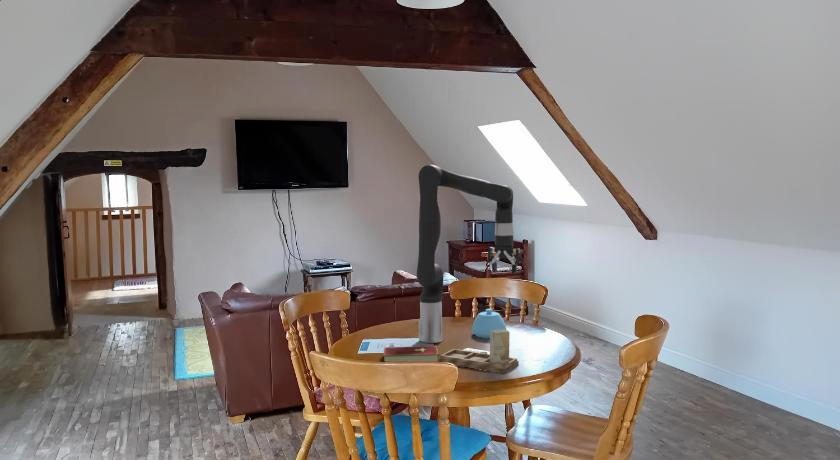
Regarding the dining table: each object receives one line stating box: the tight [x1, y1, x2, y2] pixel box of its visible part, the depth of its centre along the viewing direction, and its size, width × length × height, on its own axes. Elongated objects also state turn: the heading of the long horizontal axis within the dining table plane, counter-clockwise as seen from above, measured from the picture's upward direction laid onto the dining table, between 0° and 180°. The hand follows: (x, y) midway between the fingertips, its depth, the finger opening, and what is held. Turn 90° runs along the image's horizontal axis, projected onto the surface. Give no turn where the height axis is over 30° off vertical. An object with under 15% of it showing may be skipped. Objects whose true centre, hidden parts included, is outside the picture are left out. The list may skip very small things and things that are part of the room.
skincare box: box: [489, 328, 510, 365], centre depth 234 cm, size 6×4×12 cm
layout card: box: [463, 347, 490, 354], centre depth 254 cm, size 12×7×1 cm, turn 57°
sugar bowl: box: [471, 308, 507, 339], centre depth 282 cm, size 15×15×12 cm
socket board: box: [438, 348, 520, 375], centre depth 239 cm, size 27×13×3 cm, turn 57°
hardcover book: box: [382, 345, 440, 363], centre depth 247 cm, size 12×21×4 cm, turn 92°
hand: (504, 272), depth 264 cm, fingers open, 8 cm apart
